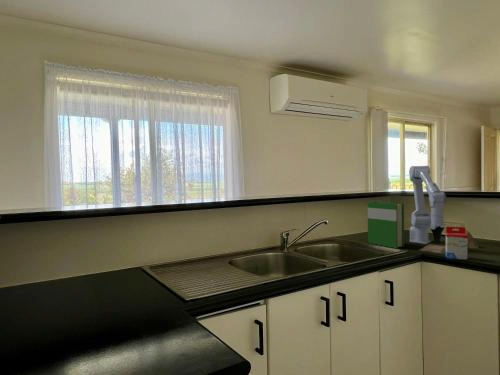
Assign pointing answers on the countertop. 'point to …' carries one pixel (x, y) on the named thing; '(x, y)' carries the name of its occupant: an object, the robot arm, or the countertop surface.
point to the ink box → (456, 243)
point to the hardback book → (386, 224)
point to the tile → (435, 248)
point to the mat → (433, 251)
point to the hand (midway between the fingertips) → (437, 241)
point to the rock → (471, 241)
